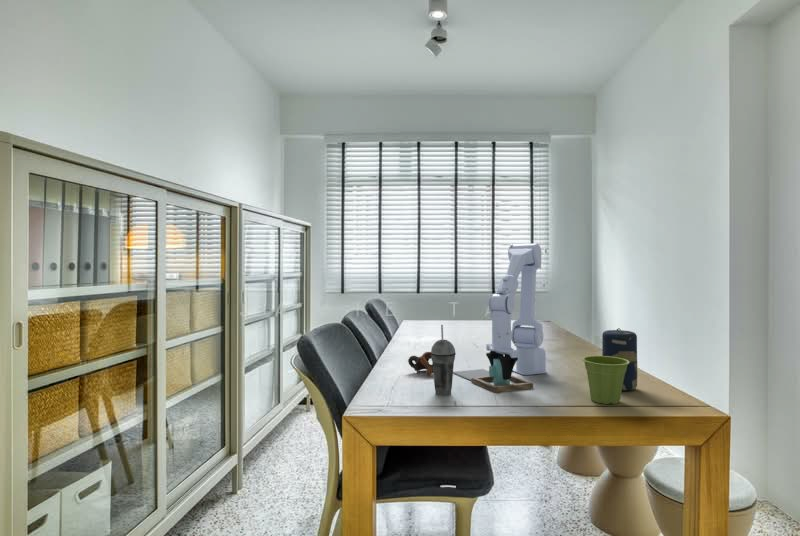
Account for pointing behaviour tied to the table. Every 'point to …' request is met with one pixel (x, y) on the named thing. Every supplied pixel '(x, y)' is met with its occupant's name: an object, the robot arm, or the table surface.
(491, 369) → the teal jug
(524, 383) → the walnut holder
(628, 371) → the canister
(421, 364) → the brown looped knot
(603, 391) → the plant pot
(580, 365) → the table surface
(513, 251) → the robot arm
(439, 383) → the beverage cup
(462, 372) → the gray mat
